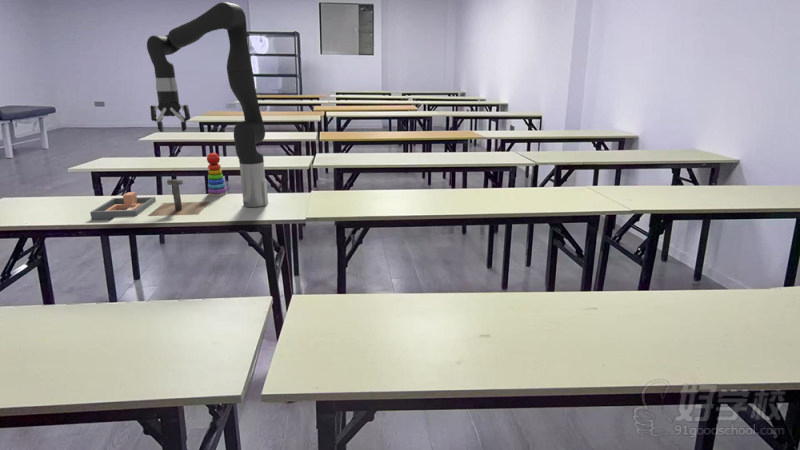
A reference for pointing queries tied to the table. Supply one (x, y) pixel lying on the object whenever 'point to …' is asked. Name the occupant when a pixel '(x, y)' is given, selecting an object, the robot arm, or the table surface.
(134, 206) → the tan piece
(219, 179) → the stacking toy
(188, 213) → the stake board
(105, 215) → the tray
